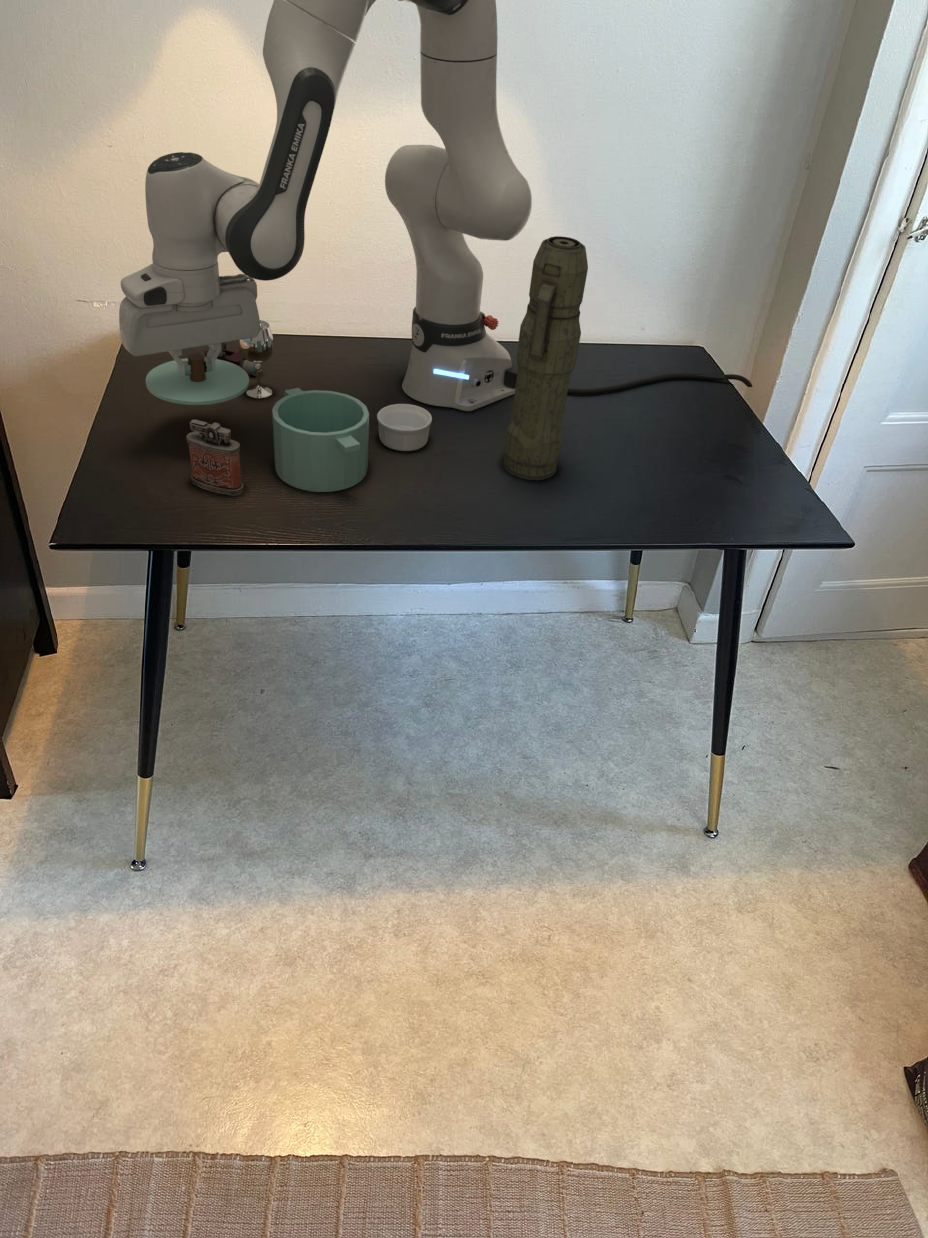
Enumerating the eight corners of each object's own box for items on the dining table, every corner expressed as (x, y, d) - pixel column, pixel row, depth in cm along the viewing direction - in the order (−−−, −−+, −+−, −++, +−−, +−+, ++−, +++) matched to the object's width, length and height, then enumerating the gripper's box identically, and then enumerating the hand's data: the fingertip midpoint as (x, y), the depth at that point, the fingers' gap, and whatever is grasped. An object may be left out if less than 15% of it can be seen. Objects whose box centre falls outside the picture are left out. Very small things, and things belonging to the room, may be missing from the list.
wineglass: (268, 402, 154) (265, 334, 146) (236, 396, 154) (231, 328, 147) (281, 388, 158) (278, 321, 150) (250, 382, 159) (245, 315, 151)
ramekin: (417, 458, 144) (419, 434, 141) (367, 444, 145) (367, 420, 143) (438, 435, 150) (440, 411, 147) (390, 422, 152) (390, 398, 149)
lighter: (247, 487, 133) (243, 425, 126) (235, 498, 130) (230, 436, 124) (199, 473, 134) (192, 412, 128) (187, 484, 132) (179, 422, 126)
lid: (225, 358, 146) (223, 330, 143) (266, 397, 137) (264, 368, 134) (132, 374, 139) (127, 345, 136) (168, 416, 130) (164, 386, 127)
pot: (332, 430, 148) (332, 376, 142) (392, 487, 136) (395, 430, 130) (252, 448, 141) (248, 392, 135) (309, 510, 130) (308, 451, 124)
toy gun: (257, 380, 159) (256, 354, 156) (197, 365, 162) (195, 339, 159) (283, 360, 167) (282, 335, 164) (226, 346, 169) (224, 321, 166)
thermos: (493, 477, 141) (522, 248, 119) (511, 443, 150) (541, 224, 128) (548, 490, 140) (588, 260, 117) (563, 455, 149) (602, 235, 126)
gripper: (246, 265, 135) (252, 353, 143) (108, 281, 125) (123, 375, 133) (265, 279, 131) (269, 369, 140) (123, 297, 121) (138, 392, 130)
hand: (196, 372), depth 136 cm, fingers closed on lid, 2 cm apart
